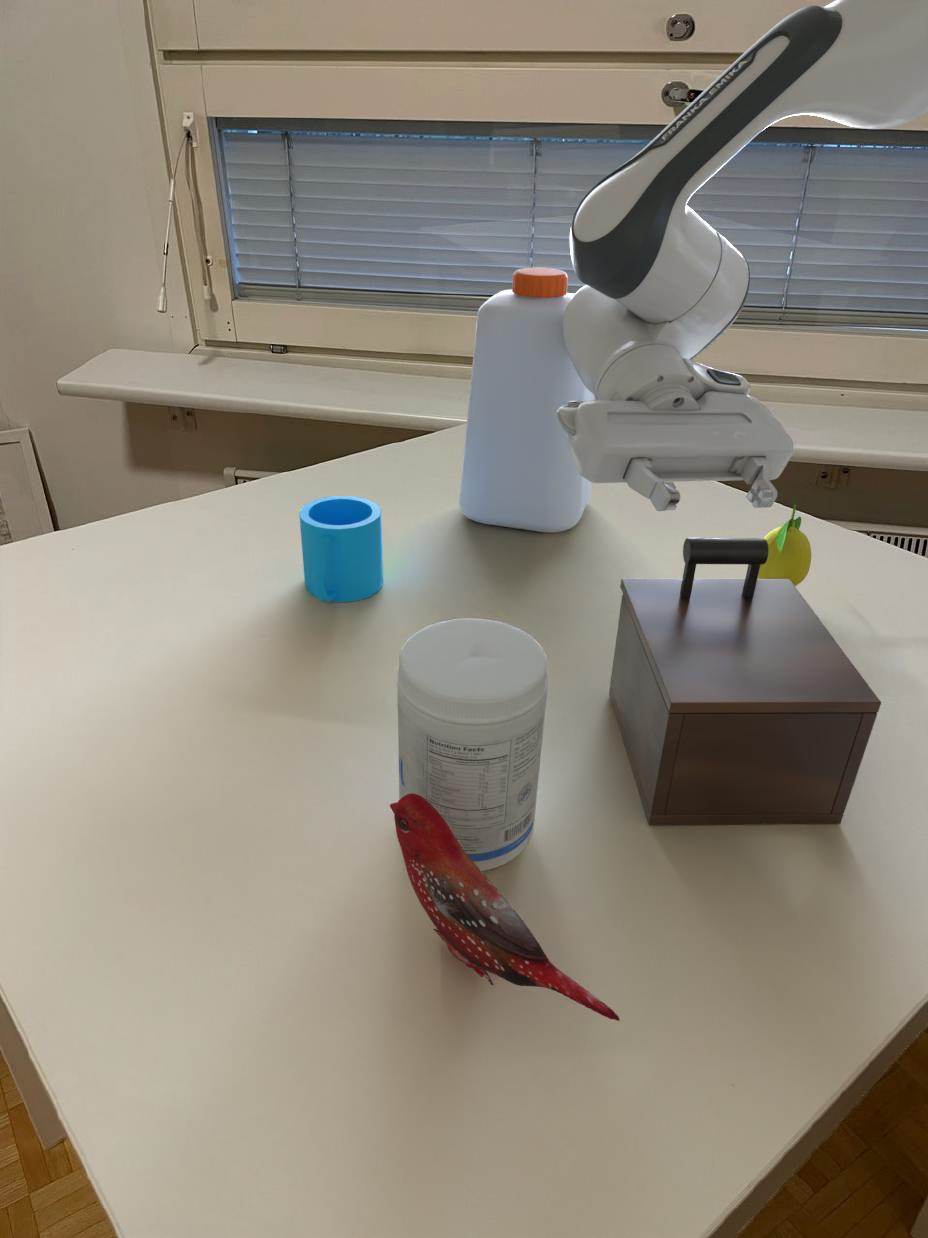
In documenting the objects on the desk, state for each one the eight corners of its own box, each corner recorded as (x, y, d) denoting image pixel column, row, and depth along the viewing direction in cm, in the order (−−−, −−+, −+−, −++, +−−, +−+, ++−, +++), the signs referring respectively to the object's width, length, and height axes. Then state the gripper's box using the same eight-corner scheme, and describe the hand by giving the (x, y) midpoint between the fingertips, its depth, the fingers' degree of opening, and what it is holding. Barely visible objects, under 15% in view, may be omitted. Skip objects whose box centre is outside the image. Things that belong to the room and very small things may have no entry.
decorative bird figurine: (409, 883, 57) (407, 765, 52) (623, 1075, 46) (648, 951, 41) (374, 906, 55) (369, 787, 50) (588, 1112, 45) (610, 987, 39)
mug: (320, 561, 96) (315, 492, 92) (391, 569, 95) (390, 499, 90) (279, 615, 86) (271, 541, 82) (359, 626, 84) (355, 550, 80)
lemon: (767, 611, 89) (788, 521, 84) (732, 585, 93) (750, 498, 88) (819, 600, 91) (843, 512, 86) (782, 575, 96) (803, 490, 90)
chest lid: (620, 587, 71) (628, 522, 68) (787, 587, 72) (803, 523, 69) (669, 713, 57) (682, 638, 54) (878, 712, 58) (903, 638, 55)
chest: (608, 693, 76) (622, 593, 71) (766, 693, 76) (791, 594, 71) (648, 826, 62) (669, 714, 57) (840, 824, 63) (878, 713, 58)
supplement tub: (404, 779, 66) (402, 612, 58) (530, 782, 66) (544, 615, 58) (394, 879, 57) (390, 698, 50) (538, 882, 57) (555, 702, 50)
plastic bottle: (574, 541, 102) (599, 288, 87) (450, 523, 105) (454, 277, 91) (594, 493, 114) (619, 265, 100) (483, 478, 118) (491, 256, 103)
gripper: (559, 371, 75) (620, 475, 66) (759, 376, 81) (837, 471, 73) (540, 431, 79) (594, 536, 71) (731, 431, 86) (801, 527, 77)
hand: (719, 503), depth 72 cm, fingers open, 8 cm apart
